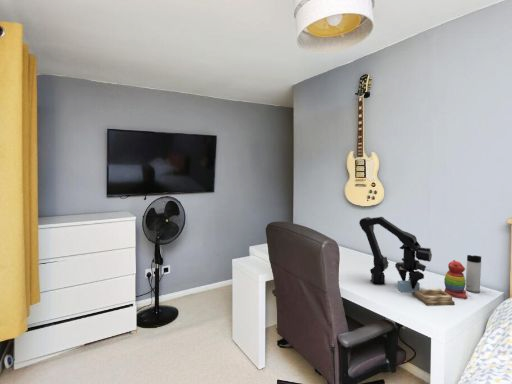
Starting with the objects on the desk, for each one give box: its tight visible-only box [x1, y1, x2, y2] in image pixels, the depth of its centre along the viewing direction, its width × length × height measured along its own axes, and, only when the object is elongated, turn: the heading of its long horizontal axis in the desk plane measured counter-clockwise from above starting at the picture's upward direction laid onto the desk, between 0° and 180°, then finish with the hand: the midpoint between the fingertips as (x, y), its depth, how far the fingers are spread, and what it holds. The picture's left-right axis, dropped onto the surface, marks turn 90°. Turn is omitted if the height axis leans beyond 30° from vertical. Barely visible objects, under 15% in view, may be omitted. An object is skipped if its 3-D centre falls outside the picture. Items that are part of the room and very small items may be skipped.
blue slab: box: [397, 278, 421, 293], centre depth 161 cm, size 10×4×6 cm, turn 89°
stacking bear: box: [443, 259, 468, 300], centre depth 155 cm, size 11×10×18 cm
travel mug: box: [465, 254, 482, 294], centre depth 159 cm, size 6×7×20 cm
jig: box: [412, 288, 455, 307], centre depth 150 cm, size 14×12×4 cm
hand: (408, 285), depth 161 cm, fingers open, 9 cm apart
